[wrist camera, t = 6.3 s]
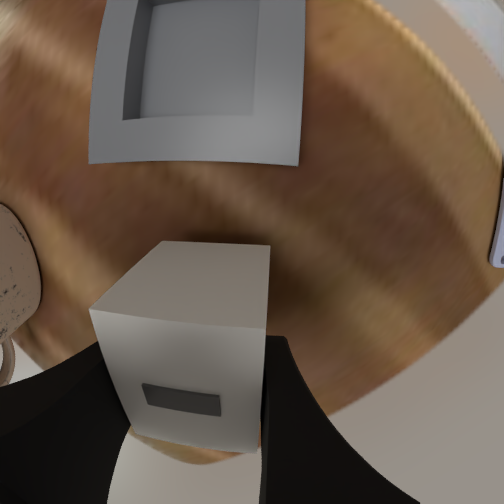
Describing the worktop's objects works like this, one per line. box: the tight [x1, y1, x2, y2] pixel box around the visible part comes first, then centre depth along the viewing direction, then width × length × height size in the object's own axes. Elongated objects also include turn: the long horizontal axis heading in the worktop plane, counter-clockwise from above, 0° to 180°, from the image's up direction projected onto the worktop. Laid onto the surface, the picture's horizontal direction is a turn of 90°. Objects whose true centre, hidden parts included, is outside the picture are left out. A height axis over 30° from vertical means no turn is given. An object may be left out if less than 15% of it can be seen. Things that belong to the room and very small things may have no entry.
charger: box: [89, 241, 270, 453], centre depth 9 cm, size 4×5×5 cm
